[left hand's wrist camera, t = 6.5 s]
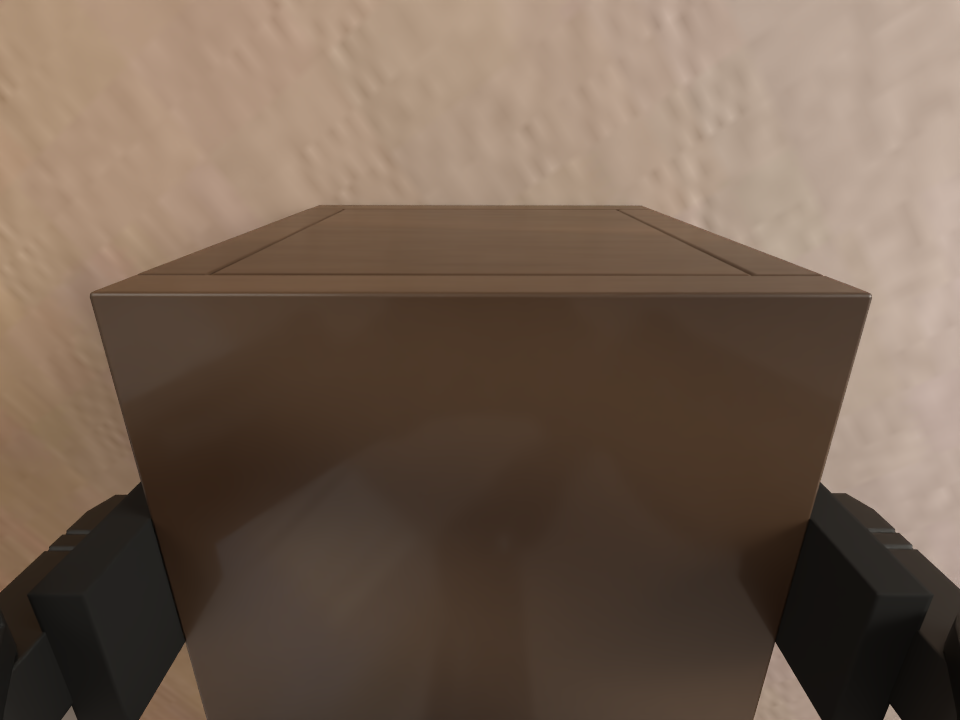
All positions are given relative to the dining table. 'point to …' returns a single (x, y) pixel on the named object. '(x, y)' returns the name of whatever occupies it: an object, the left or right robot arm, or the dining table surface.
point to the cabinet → (480, 459)
